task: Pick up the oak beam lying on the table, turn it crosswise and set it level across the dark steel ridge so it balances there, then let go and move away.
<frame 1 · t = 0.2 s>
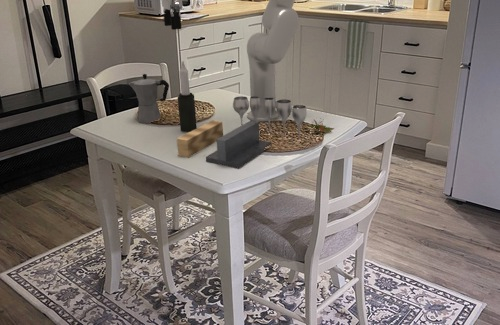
hand: (172, 27, 167), 37 cm above the table, tool pointing down, fingers open, 9 cm apart
goblet set: (269, 136, 175), on the table
oak beam: (201, 146, 168), on the table
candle: (188, 130, 183), on the table
coffeepot: (152, 120, 195), on the table
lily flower: (317, 132, 178), on the table
steel ridge: (239, 153, 160), on the table
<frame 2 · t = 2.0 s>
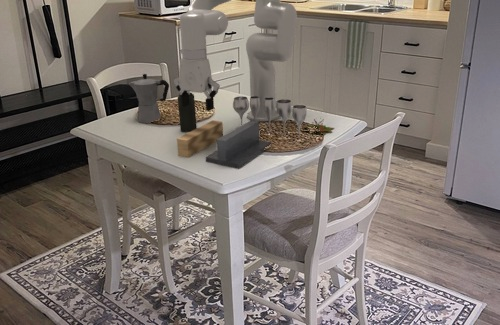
hand: (197, 107, 162), 13 cm above the table, tool pointing down, fingers open, 9 cm apart
nothing on the table moved.
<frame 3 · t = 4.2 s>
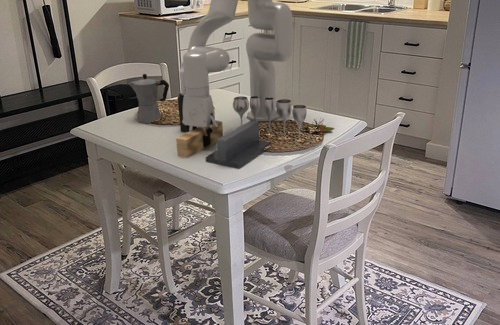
hand: (201, 144, 167), 1 cm above the table, tool pointing down, fingers closed on oak beam, 4 cm apart
oak beam: (201, 146, 167), on the table, touching gripper
everything else where it was.
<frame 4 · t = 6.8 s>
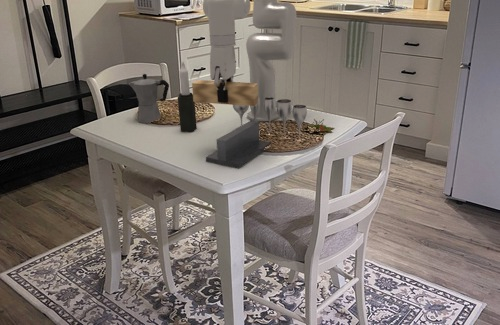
hand: (225, 99, 155), 17 cm above the table, tool pointing down, fingers closed on oak beam, 4 cm apart
oak beam: (225, 102, 156), point 17 cm above the table, touching gripper
everything else where it was.
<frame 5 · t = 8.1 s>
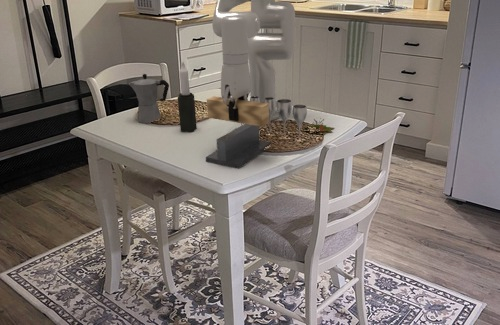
hand: (237, 117, 155), 12 cm above the table, tool pointing down, fingers closed on oak beam, 4 cm apart
oak beam: (237, 120, 156), point 11 cm above the table, touching gripper
everything else where it was.
when the fingers open (10 cm above the table, at t = 9.3 s): oak beam stays where it is, resting on steel ridge.
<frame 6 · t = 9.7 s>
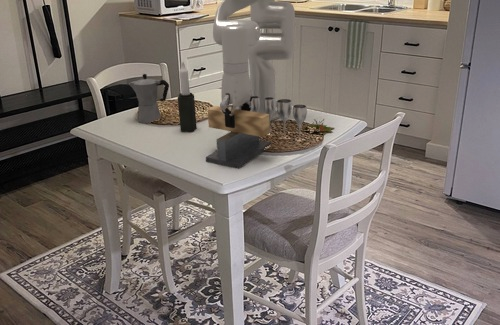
hand: (238, 122, 156), 10 cm above the table, tool pointing down, fingers open, 8 cm apart
oak beam: (238, 130, 157), point 8 cm above the table, touching steel ridge
everything else where it was.
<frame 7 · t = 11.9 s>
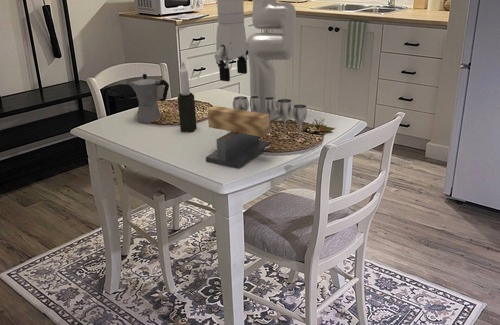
hand: (233, 77, 152), 25 cm above the table, tool pointing down, fingers open, 9 cm apart
nothing on the table moved.
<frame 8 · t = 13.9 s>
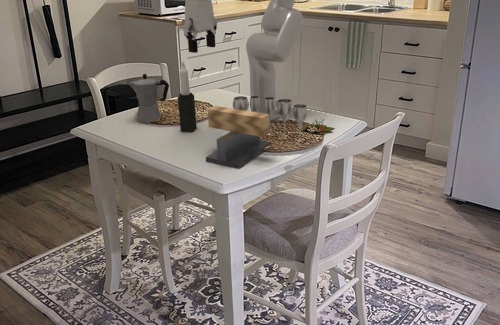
hand: (202, 49, 163), 30 cm above the table, tool pointing down, fingers open, 9 cm apart
nothing on the table moved.
at the end: oak beam 0.1 cm off-centre on the steel ridge, point 8.0 cm above the steel ridge's base; oak beam tilted 0°; the gripper is holding nothing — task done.
